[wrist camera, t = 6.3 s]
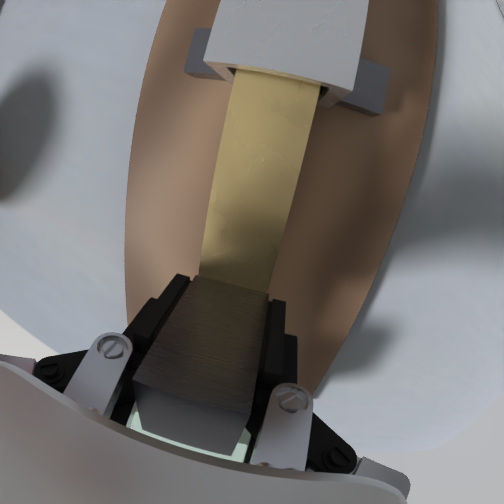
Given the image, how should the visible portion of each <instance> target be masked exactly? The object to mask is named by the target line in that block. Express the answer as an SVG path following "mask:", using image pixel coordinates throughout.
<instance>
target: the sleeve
mask: <svg viewBox="0 0 504 504" xmlns="http://www.w3.org/2000/svg"><path fill="white" fill-rule="evenodd" d="M368 4H369V0H221V1H220V4H219V8H218V11H217V14H216V17H215V20H214V24H213V27H212V28H195V30H194V33H193V37H192V40H191V44H190V47H189V51H188V55H187V58H186V62H185V66H184V70H183V72H185V73H186V74H188V75H190V76H192V77H194V78H201V79H211V80H220V81H228V82H229V83H230V84H231V85H232V86H233V82H234V78H235V74H236V70H237V68H238V69H245V70H252V71H258V72H264V73H269V74H274V75H279V76H284V77H289V78H293V79H297V80H302V81H306V82H310V83H313V84H317V85H321V86H320V91H319V95H318V99H317V104H316V105H317V106H321V107H324V108H330V107H331V106H332V105H337V106H341V107H344V108H347V109H350V110H353V111H356V112H359V113H362V114H364V115H367V116H370V117H375V116H379V115H382V112H383V107H384V103H385V98H386V93H387V88H388V83H389V77H390V72H391V69H390V68H387V67H385V66H382V65H380V64H377V63H375V62H372V61H369V60H367V59H364V58H361V57H360V52H361V47H362V41H363V35H364V29H365V23H366V17H367V11H368Z"/></svg>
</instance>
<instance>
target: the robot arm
mask: <svg viewBox="0 0 504 504" xmlns="http://www.w3.org/2000/svg"><path fill="white" fill-rule="evenodd" d="M497 2H498V5H499V7H500V10H501V12H502V14H503V16H504V0H497ZM190 283H191V280H190V277H189V276H186V275H182V274H179V273H177V274H176V275H175V276H174V278H173V279H172V280H171V281H170V283H169V284H168V285H167V287H166V288H165V289H164V291H163V292H162V293H161V295H160V296H159V297H158V299H156V298H153V297H151V298H150V299H149V300H148V301H147V302H146V303H145V305H144V306H143V307H142V309H141V310H140V311H139V312H138V314H137V315H136V316H135V318H134V319H133V320H132V322H131V323H130V324H129V326H128V327H127V328H126V330H125V331H124V332H123V334H120V333H115V332H112V333H105V334H102V335H101V336H99V337H98V338H97V339H96V340H95V341H94V342H93V344H92V346H91V347H90V349H89V350H84V351H78V352H73V353H67V354H61V355H55V356H49V357H46V358H43V359H41V360H40V361H39V362H36V360H35V359H31V358H23V357H16V356H9V355H3V354H0V504H407V502H406V499H407V496H408V494H409V491H410V481H409V479H408V477H407V476H406V475H404V474H403V473H401V472H398V471H396V470H393V469H391V468H389V467H386V466H384V465H382V464H379V463H377V462H374V461H372V460H370V459H368V458H366V457H363V458H359V457H357V455H356V453H355V451H354V450H353V448H352V447H351V446H350V445H349V444H347V443H346V442H345V441H344V440H343V439H342V438H341V437H340V436H338V435H337V434H336V433H335V432H334V431H333V430H332V429H331V428H330V427H328V426H327V425H326V424H325V423H324V422H323V421H322V420H321V419H320V418H319V417H318V416H317V415H315V414H314V413H313V398H312V396H311V394H310V393H309V392H308V391H307V389H305V388H304V387H302V386H300V385H298V384H297V367H298V339H297V336H295V335H290V334H285V316H286V301H282V300H277V299H273V300H272V302H271V301H268V306H267V313H266V320H265V326H264V333H263V340H262V346H261V353H260V359H259V366H258V372H257V378H256V384H255V391H254V397H253V403H252V409H251V414H250V417H249V419H248V422H247V424H246V426H245V428H246V430H247V431H248V432H249V433H250V437H249V440H248V443H247V447H246V450H245V453H244V456H243V459H242V462H237V461H232V460H227V459H223V458H219V457H215V456H211V455H207V454H203V453H199V452H196V451H192V450H189V449H185V448H182V447H179V446H176V445H173V444H170V443H167V442H164V441H161V440H158V439H156V438H153V437H150V436H148V435H145V434H143V433H140V432H138V431H135V430H133V429H130V426H131V423H132V420H133V417H134V414H135V412H136V409H137V404H136V399H135V394H134V389H133V383H132V378H133V376H134V375H135V373H136V371H137V369H138V368H139V366H140V364H141V363H142V361H143V359H144V358H145V356H146V354H147V353H148V351H149V349H150V348H151V346H152V344H153V343H154V341H155V339H156V338H157V336H158V334H159V333H160V331H161V329H162V328H163V326H164V324H165V323H166V321H167V320H168V318H169V316H170V315H171V313H172V312H173V310H174V308H175V307H176V305H177V304H178V302H179V300H180V299H181V297H182V296H183V294H184V292H185V291H186V289H187V288H188V286H189V285H190Z"/></svg>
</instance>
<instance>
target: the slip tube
mask: <svg viewBox="0 0 504 504" xmlns="http://www.w3.org/2000/svg"><path fill="white" fill-rule="evenodd" d="M320 86H321V85H317V84H313V83H310V82H306V81H302V80H297V79H293V78H289V77H284V76H279V75H274V74H269V73H264V72H258V71H252V70H245V69H238V68H237V70H236V74H235V78H234V82H233V87H232V91H231V95H230V100H229V104H228V109H227V113H226V118H225V122H224V127H223V132H222V137H221V142H220V147H219V152H218V157H217V162H216V167H215V173H214V178H213V183H212V189H211V195H210V201H209V207H208V213H207V219H206V225H205V231H204V238H203V244H202V251H201V258H200V265H199V273H198V275H195V277H194V278H193V280H192V281H191V283H190V285H189V286H188V288H187V289H186V291H185V292H184V294H183V296H182V297H181V299H180V300H179V302H178V304H177V305H176V307H175V308H174V310H173V312H172V313H171V315H170V316H169V318H168V320H167V321H166V323H165V324H164V326H163V328H162V329H161V331H160V333H159V334H158V336H157V338H156V339H155V341H154V343H153V344H152V346H151V348H150V349H149V351H148V353H147V354H146V356H145V358H144V359H143V361H142V363H141V364H140V366H139V368H138V369H137V371H136V373H135V375H134V376H133V378H132V383H133V389H134V394H135V399H136V404H137V409H138V414H139V418H140V422H141V427H142V430H145V431H147V432H150V433H152V434H155V435H158V436H161V437H163V438H166V439H169V440H172V441H175V442H178V443H182V444H185V445H188V446H192V447H195V448H199V449H202V450H206V451H210V452H214V453H218V454H222V455H227V456H232V454H233V452H234V450H235V447H236V445H237V443H238V441H239V439H240V437H241V435H242V433H243V430H244V428H245V426H246V424H247V422H248V419H249V417H250V414H251V409H252V403H253V397H254V391H255V384H256V378H257V372H258V366H259V359H260V353H261V346H262V340H263V333H264V326H265V320H266V313H267V306H268V299H269V293H267V291H268V287H269V284H270V280H271V277H272V273H273V269H274V266H275V262H276V259H277V255H278V252H279V248H280V244H281V241H282V237H283V233H284V230H285V226H286V222H287V219H288V215H289V211H290V207H291V204H292V200H293V196H294V192H295V188H296V185H297V181H298V177H299V173H300V169H301V165H302V161H303V157H304V153H305V149H306V145H307V141H308V137H309V133H310V129H311V125H312V120H313V116H314V112H315V108H316V104H317V99H318V95H319V91H320Z"/></svg>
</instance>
